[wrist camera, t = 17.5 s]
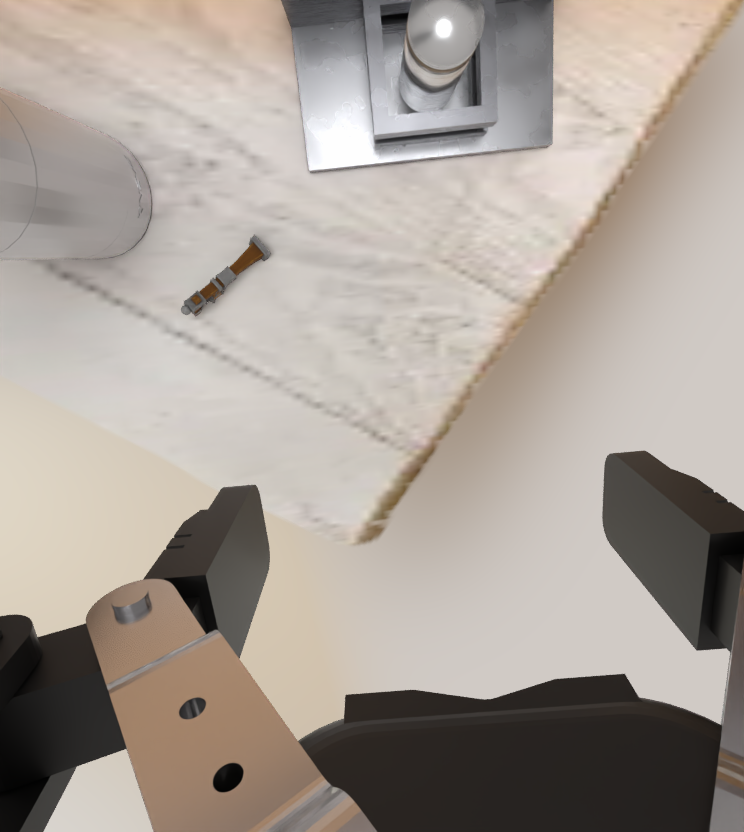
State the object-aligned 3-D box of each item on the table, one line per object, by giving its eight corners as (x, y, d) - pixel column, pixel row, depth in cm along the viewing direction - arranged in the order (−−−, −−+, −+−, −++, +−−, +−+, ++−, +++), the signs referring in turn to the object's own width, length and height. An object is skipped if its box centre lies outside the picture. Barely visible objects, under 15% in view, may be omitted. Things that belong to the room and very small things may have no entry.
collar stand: (310, 172, 39) (284, 138, 27) (287, -17, 35) (245, -146, 24) (547, 146, 38) (622, 101, 27) (548, -49, 35) (635, -197, 23)
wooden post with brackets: (176, 312, 41) (172, 301, 37) (249, 250, 43) (254, 233, 39) (192, 328, 42) (191, 320, 37) (264, 267, 43) (270, 252, 39)
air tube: (400, 116, 37) (410, 69, 27) (396, 50, 36) (404, -22, 26) (456, 110, 37) (486, 61, 27) (454, 44, 36) (484, -31, 26)
